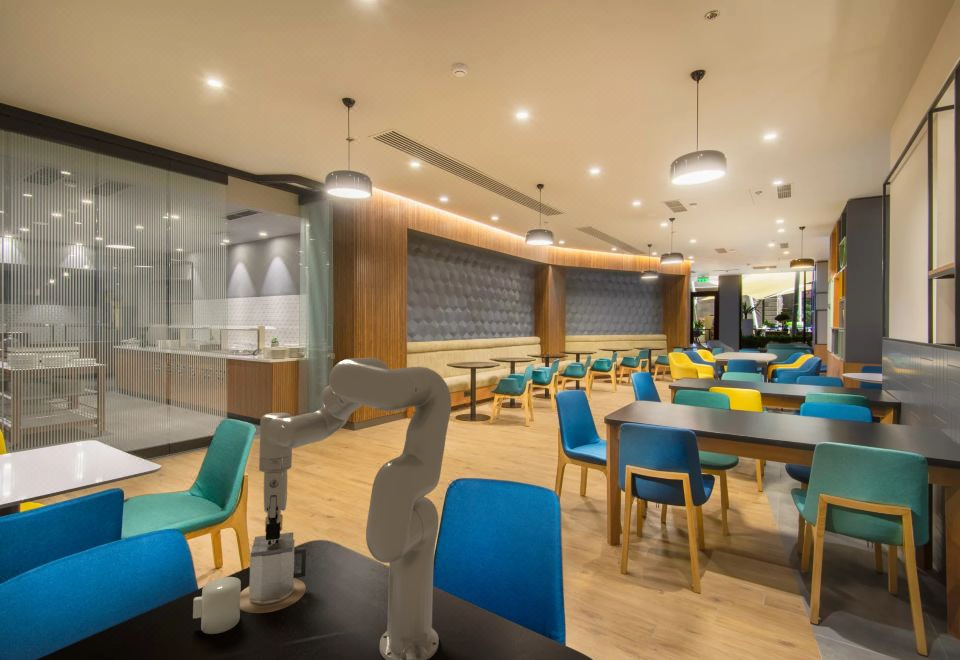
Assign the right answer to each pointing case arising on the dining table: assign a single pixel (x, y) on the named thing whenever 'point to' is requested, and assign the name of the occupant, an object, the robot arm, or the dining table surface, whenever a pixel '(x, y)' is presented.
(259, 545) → the grey handled container
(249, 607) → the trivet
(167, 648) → the dining table surface
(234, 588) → the mug
